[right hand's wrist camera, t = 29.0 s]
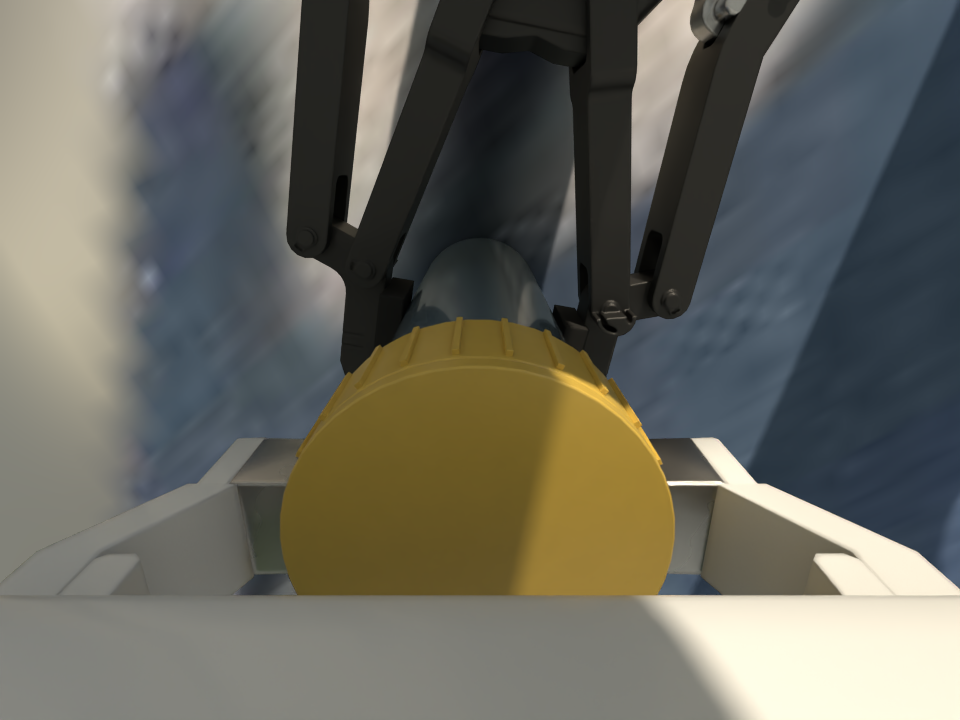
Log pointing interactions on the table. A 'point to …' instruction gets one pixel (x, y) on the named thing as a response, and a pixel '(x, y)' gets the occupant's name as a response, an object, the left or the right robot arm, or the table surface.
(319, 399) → the table surface
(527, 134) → the table surface
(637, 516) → the lid
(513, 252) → the bottle
